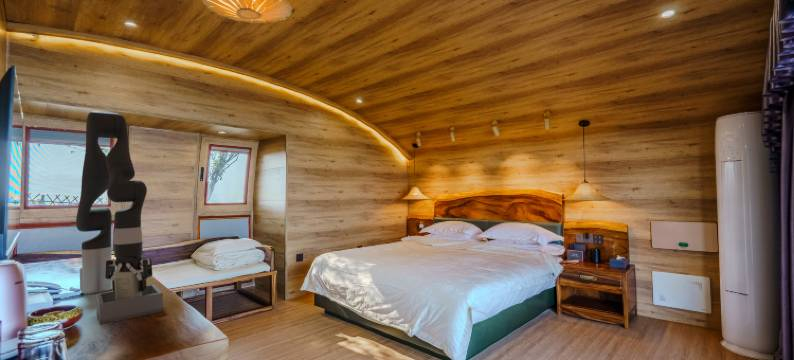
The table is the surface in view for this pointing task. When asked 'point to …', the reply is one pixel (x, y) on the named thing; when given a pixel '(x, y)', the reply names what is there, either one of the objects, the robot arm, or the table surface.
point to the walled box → (128, 305)
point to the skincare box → (126, 285)
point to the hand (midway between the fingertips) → (129, 291)
